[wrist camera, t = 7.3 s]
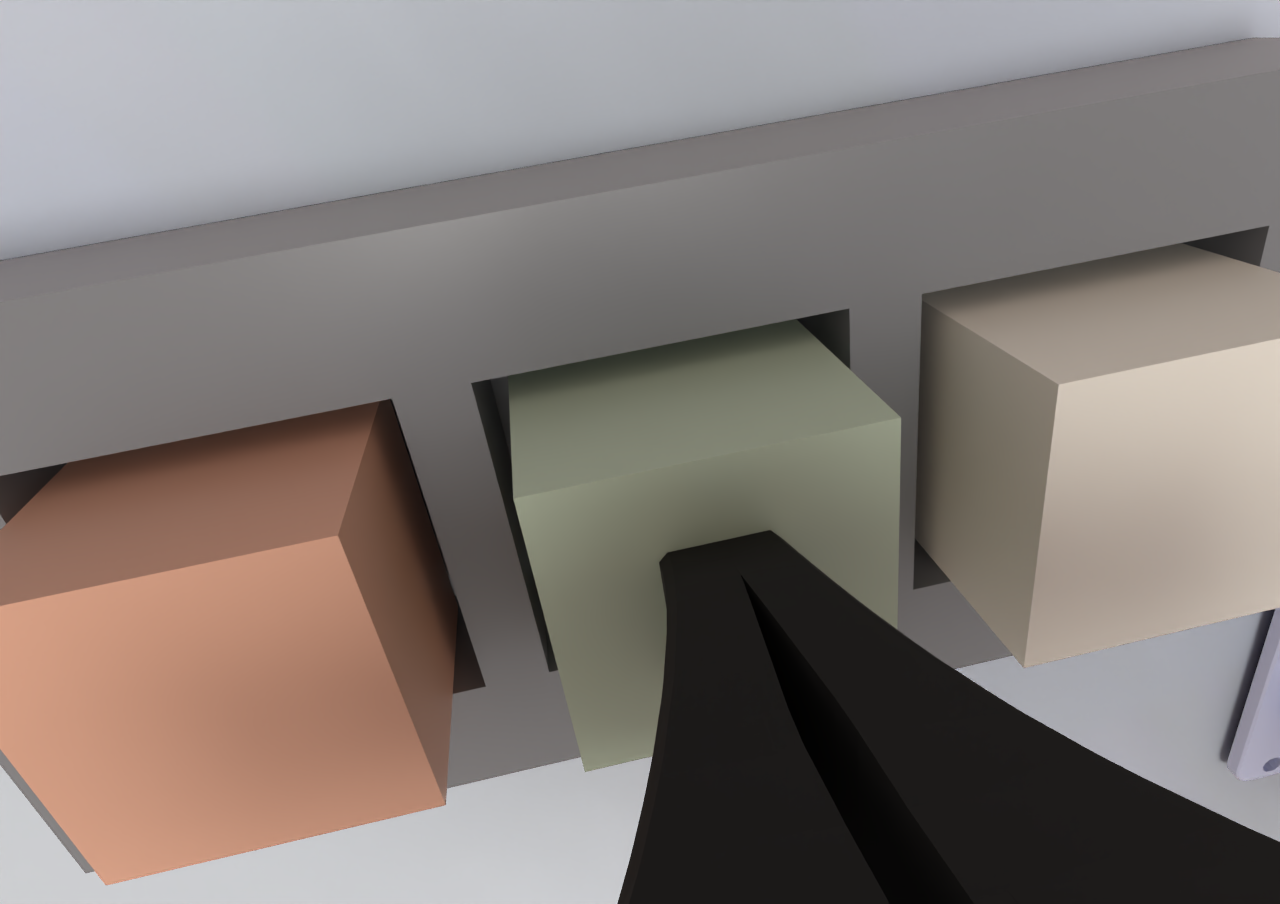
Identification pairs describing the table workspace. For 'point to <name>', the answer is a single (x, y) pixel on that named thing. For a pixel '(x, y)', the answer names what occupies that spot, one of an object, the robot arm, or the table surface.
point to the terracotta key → (228, 642)
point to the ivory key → (1104, 448)
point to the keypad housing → (624, 308)
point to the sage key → (690, 497)
